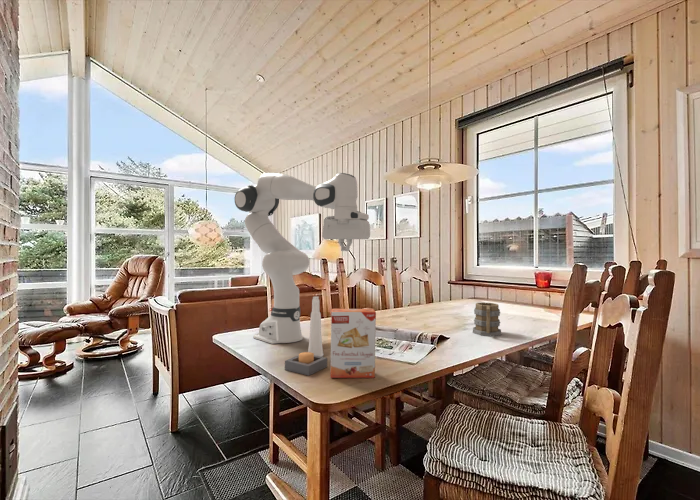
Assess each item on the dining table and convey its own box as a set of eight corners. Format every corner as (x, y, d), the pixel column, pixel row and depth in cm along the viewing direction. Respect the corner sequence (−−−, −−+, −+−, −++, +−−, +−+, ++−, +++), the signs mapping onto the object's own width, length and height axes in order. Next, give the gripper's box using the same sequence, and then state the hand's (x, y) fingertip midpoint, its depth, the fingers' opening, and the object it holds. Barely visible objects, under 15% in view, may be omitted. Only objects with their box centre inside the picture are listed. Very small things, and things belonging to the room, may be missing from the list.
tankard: (473, 329, 179) (473, 299, 179) (500, 331, 174) (501, 300, 174) (471, 338, 161) (471, 305, 161) (501, 341, 156) (502, 307, 156)
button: (295, 366, 118) (295, 354, 118) (305, 362, 122) (305, 351, 122) (307, 369, 115) (307, 357, 115) (316, 365, 120) (316, 353, 120)
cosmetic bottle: (315, 352, 137) (316, 295, 137) (326, 355, 133) (327, 296, 133) (303, 355, 133) (304, 296, 133) (315, 358, 129) (315, 298, 129)
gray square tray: (284, 369, 117) (284, 360, 117) (303, 361, 126) (304, 353, 126) (308, 375, 112) (308, 366, 112) (327, 366, 120) (327, 357, 120)
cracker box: (330, 379, 109) (330, 311, 109) (330, 372, 115) (330, 307, 115) (375, 378, 110) (376, 311, 110) (373, 371, 116) (373, 307, 116)
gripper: (319, 215, 140) (318, 250, 140) (364, 213, 129) (363, 251, 129) (328, 216, 145) (328, 250, 145) (372, 215, 134) (371, 251, 134)
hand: (345, 251), depth 137 cm, fingers closed
